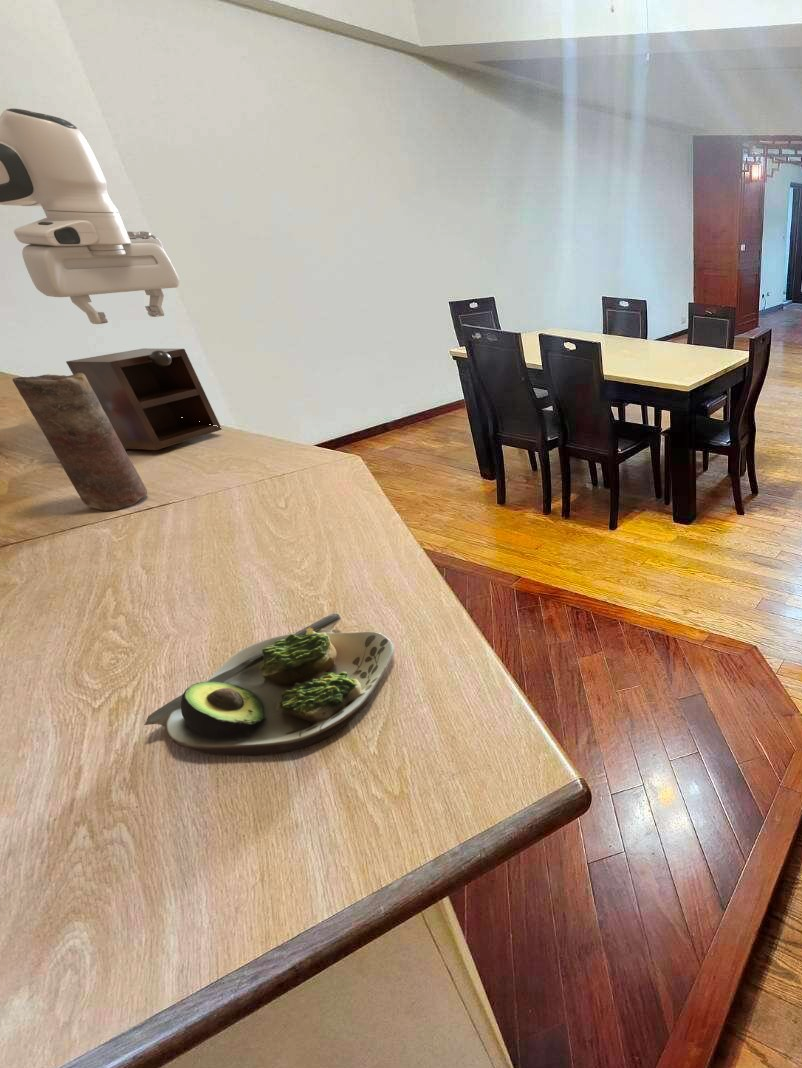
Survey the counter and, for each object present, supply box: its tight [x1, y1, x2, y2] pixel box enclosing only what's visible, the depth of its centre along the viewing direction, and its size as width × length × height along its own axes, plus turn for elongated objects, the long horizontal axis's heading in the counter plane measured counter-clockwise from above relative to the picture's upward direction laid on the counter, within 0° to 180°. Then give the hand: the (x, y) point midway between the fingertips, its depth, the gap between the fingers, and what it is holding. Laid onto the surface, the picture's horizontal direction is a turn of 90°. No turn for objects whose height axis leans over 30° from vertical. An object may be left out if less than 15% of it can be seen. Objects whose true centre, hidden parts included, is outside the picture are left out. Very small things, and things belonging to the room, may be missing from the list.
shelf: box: [65, 348, 223, 451], centre depth 112 cm, size 17×13×14 cm
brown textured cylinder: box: [12, 373, 148, 512], centre depth 88 cm, size 8×7×20 cm
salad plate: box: [143, 613, 396, 757], centre depth 59 cm, size 19×18×5 cm
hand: (129, 319), depth 105 cm, fingers open, 8 cm apart
